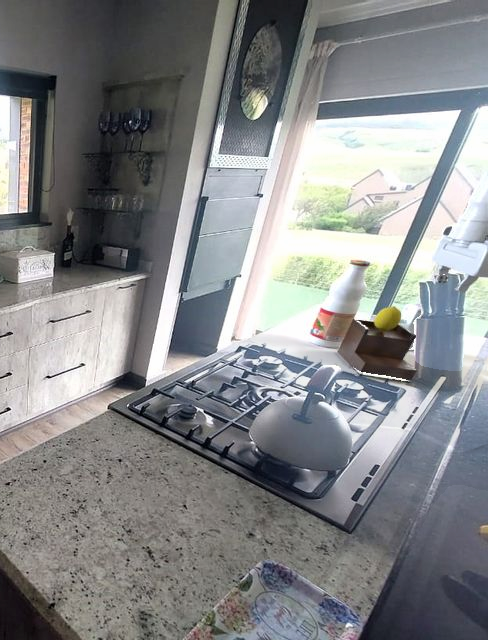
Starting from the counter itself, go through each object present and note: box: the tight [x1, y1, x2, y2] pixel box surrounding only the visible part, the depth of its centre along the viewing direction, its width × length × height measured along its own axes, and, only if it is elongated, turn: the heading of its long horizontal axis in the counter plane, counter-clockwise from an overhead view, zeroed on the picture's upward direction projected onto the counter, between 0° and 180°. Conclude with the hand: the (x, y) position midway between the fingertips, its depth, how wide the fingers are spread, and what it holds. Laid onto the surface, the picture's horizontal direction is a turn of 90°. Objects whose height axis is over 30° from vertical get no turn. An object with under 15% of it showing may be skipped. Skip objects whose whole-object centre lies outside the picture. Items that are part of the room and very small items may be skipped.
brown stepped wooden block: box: [337, 318, 418, 384], centre depth 122 cm, size 12×18×12 cm, turn 159°
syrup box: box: [399, 303, 421, 352], centre depth 135 cm, size 6×6×14 cm
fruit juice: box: [307, 259, 371, 349], centre depth 133 cm, size 9×9×28 cm
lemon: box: [373, 305, 402, 332], centre depth 121 cm, size 6×6×8 cm
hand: (449, 286), depth 109 cm, fingers open, 8 cm apart
